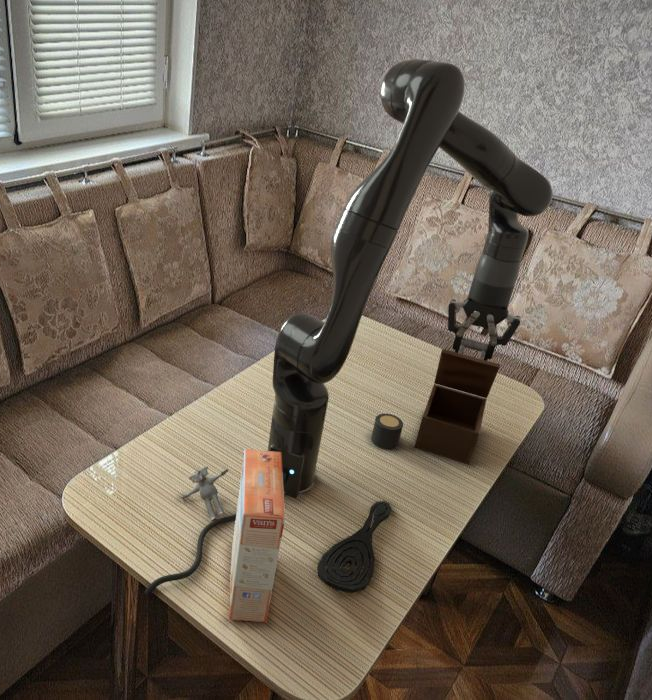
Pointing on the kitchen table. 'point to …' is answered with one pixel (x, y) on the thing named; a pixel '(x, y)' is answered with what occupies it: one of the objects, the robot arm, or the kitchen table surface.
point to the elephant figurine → (207, 490)
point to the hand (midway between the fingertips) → (471, 355)
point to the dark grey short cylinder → (386, 431)
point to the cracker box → (256, 535)
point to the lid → (467, 370)
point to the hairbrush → (353, 555)
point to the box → (451, 424)
